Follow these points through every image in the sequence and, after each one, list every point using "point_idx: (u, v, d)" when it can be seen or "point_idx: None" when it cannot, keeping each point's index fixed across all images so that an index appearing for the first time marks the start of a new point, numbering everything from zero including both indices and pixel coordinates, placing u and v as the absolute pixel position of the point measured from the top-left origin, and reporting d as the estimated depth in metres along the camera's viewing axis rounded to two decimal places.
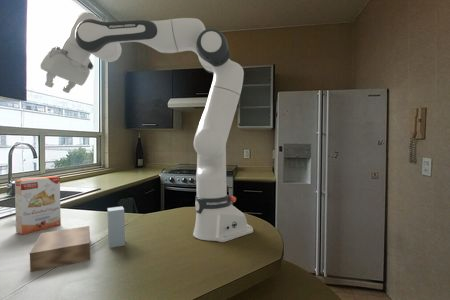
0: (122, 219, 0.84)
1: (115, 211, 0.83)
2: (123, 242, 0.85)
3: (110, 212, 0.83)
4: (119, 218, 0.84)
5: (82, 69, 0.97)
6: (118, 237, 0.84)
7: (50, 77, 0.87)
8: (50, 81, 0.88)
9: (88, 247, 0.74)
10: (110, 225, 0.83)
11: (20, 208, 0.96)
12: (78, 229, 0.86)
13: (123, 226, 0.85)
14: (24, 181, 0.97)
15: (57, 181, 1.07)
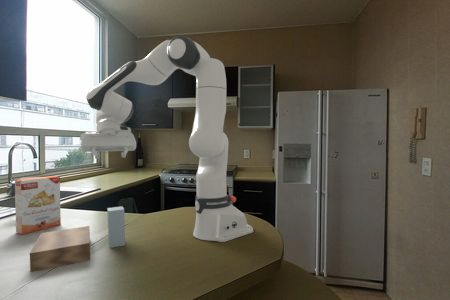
0: (122, 219, 0.84)
1: (115, 211, 0.83)
2: (123, 242, 0.85)
3: (110, 212, 0.83)
4: (119, 218, 0.84)
5: (120, 134, 1.06)
6: (118, 237, 0.84)
7: (92, 150, 0.97)
8: (94, 152, 0.97)
9: (88, 247, 0.74)
10: (110, 225, 0.83)
11: (20, 208, 0.96)
12: (78, 229, 0.86)
13: (123, 226, 0.85)
14: (24, 181, 0.97)
15: (57, 181, 1.07)
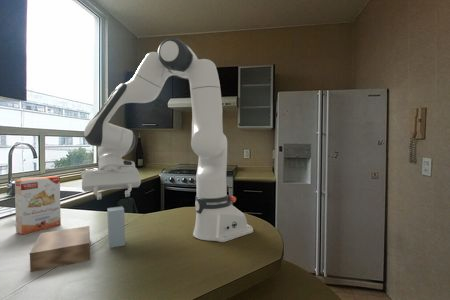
0: (122, 219, 0.84)
1: (115, 211, 0.83)
2: (123, 242, 0.85)
3: (110, 212, 0.83)
4: (119, 218, 0.84)
5: (123, 169, 0.99)
6: (118, 237, 0.84)
7: (93, 190, 0.90)
8: (96, 193, 0.90)
9: (88, 247, 0.74)
10: (110, 225, 0.83)
11: (20, 208, 0.96)
12: (78, 229, 0.86)
13: (123, 226, 0.85)
14: (24, 181, 0.97)
15: (57, 181, 1.07)
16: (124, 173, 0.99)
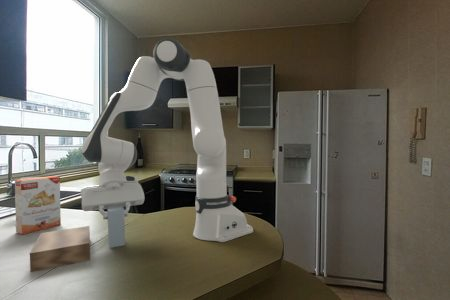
0: (122, 219, 0.84)
1: (115, 211, 0.83)
2: (123, 242, 0.85)
3: (110, 212, 0.83)
4: (119, 218, 0.84)
5: (126, 186, 0.93)
6: (118, 237, 0.84)
7: (99, 209, 0.85)
8: (102, 212, 0.84)
9: (88, 247, 0.74)
10: (110, 225, 0.83)
11: (20, 208, 0.96)
12: (78, 229, 0.86)
13: (123, 226, 0.85)
14: (24, 181, 0.97)
15: (57, 181, 1.07)
16: (127, 190, 0.92)
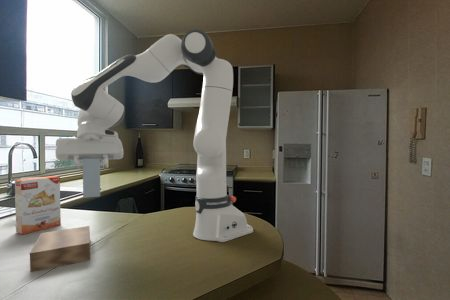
0: (97, 169, 0.81)
1: (90, 160, 0.80)
2: (98, 193, 0.81)
3: (85, 160, 0.79)
4: (94, 167, 0.81)
5: (104, 139, 0.89)
6: (93, 187, 0.81)
7: (74, 159, 0.82)
8: (77, 162, 0.81)
9: (88, 247, 0.74)
10: (84, 174, 0.79)
11: (20, 208, 0.96)
12: (78, 229, 0.86)
13: (98, 176, 0.81)
14: (24, 181, 0.97)
15: (57, 181, 1.07)
16: (105, 143, 0.89)
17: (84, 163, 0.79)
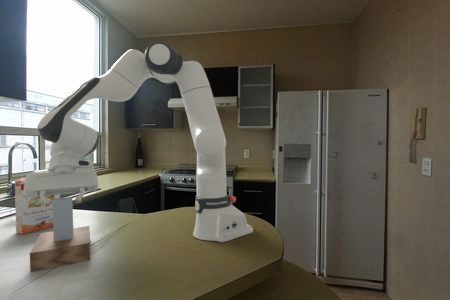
0: (69, 210, 0.77)
1: (60, 201, 0.76)
2: (70, 235, 0.77)
3: (54, 202, 0.76)
4: (65, 209, 0.77)
5: (78, 171, 0.85)
6: (65, 230, 0.77)
7: (40, 195, 0.77)
8: (43, 199, 0.77)
9: (88, 247, 0.74)
10: (55, 217, 0.76)
11: (20, 208, 0.96)
12: (78, 229, 0.86)
13: (70, 218, 0.77)
14: (24, 181, 0.97)
15: None
16: (79, 175, 0.85)
17: (54, 205, 0.75)
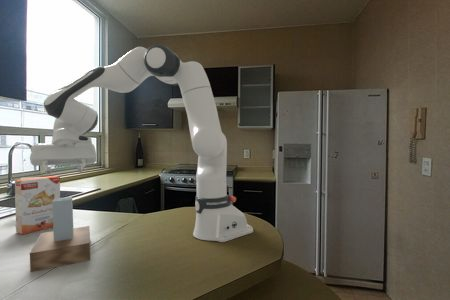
0: (69, 210, 0.77)
1: (60, 201, 0.76)
2: (70, 235, 0.77)
3: (54, 202, 0.76)
4: (65, 209, 0.77)
5: (78, 145, 0.95)
6: (65, 230, 0.77)
7: (42, 164, 0.87)
8: (44, 167, 0.86)
9: (88, 247, 0.74)
10: (55, 217, 0.76)
11: (20, 208, 0.96)
12: (78, 229, 0.86)
13: (70, 218, 0.77)
14: (24, 181, 0.97)
15: (57, 181, 1.07)
16: (79, 148, 0.95)
17: (54, 205, 0.75)
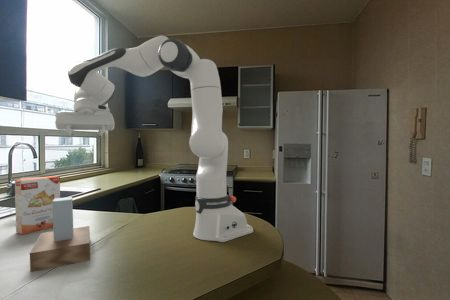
0: (69, 210, 0.77)
1: (60, 201, 0.76)
2: (70, 235, 0.77)
3: (54, 202, 0.76)
4: (65, 209, 0.77)
5: (97, 113, 1.03)
6: (65, 230, 0.77)
7: (66, 128, 0.94)
8: (69, 130, 0.94)
9: (88, 247, 0.74)
10: (55, 217, 0.76)
11: (20, 208, 0.96)
12: (78, 229, 0.86)
13: (70, 218, 0.77)
14: (24, 181, 0.97)
15: (57, 181, 1.07)
16: (98, 116, 1.03)
17: (54, 205, 0.75)
